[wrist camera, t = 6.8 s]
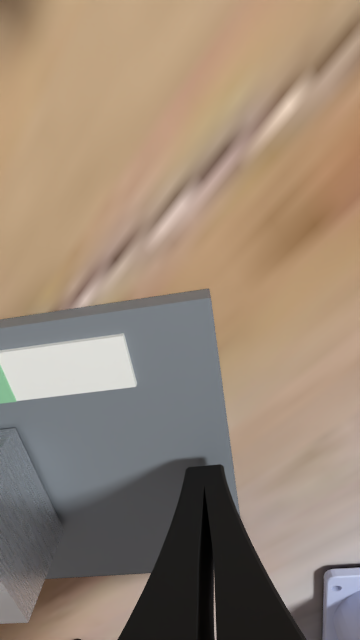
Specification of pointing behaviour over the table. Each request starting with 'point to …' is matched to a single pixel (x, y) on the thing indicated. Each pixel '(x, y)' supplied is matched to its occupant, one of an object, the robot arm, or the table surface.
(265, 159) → the table surface
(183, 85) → the table surface
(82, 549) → the gauge base
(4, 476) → the plunger
